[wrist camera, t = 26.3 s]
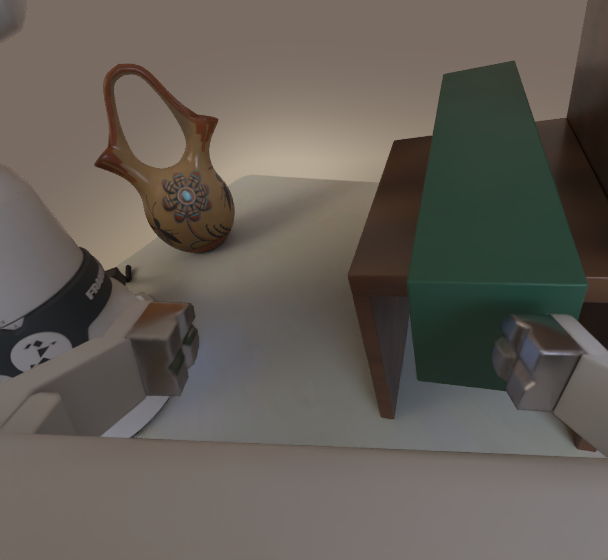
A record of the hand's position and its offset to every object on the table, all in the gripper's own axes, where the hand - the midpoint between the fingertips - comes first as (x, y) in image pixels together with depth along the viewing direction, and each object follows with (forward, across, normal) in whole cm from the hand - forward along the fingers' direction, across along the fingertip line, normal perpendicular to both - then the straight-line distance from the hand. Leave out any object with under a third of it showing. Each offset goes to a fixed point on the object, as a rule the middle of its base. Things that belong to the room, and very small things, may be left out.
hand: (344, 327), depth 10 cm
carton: (+12, -8, +1) cm, 14 cm away
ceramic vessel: (+43, +17, +18) cm, 50 cm away
